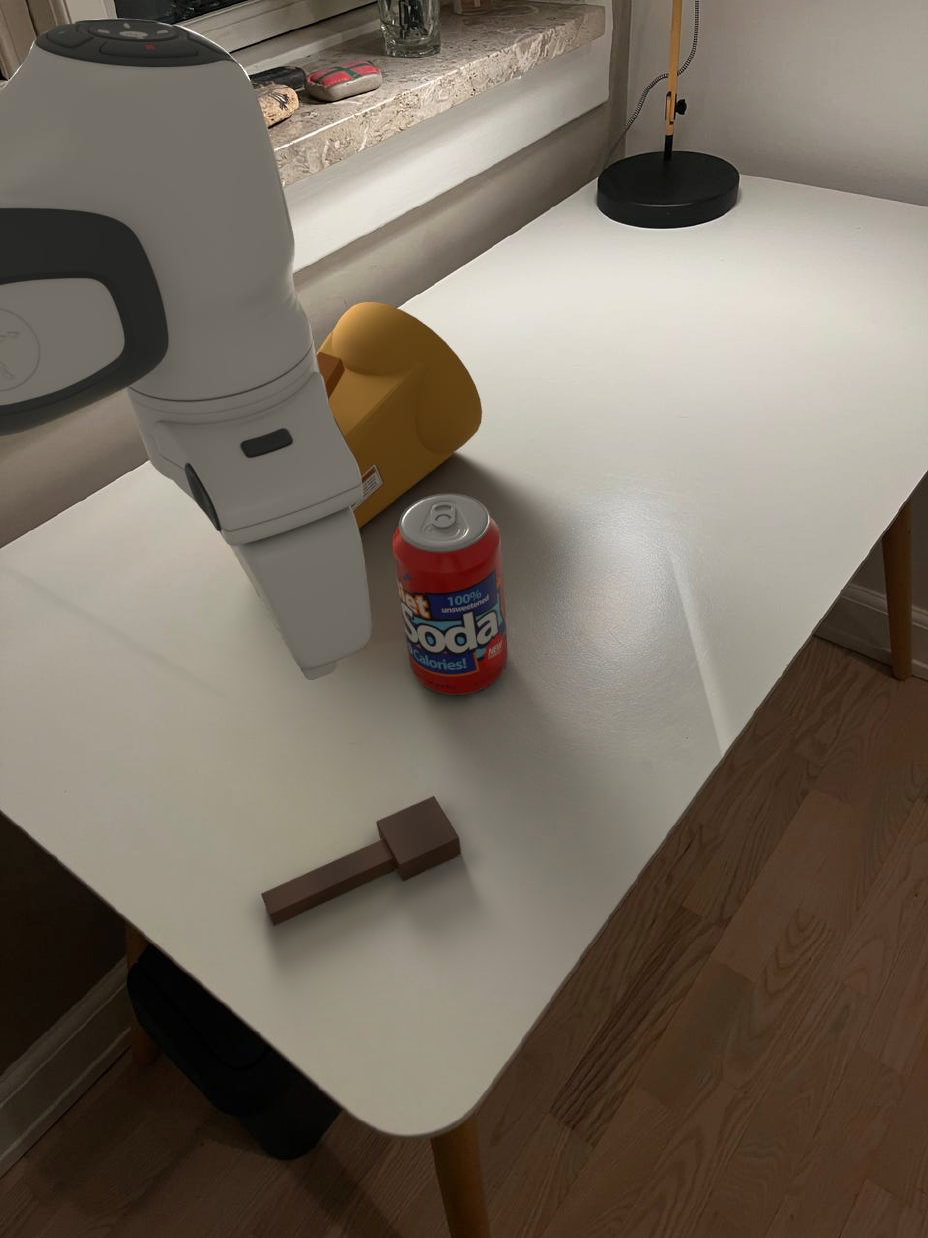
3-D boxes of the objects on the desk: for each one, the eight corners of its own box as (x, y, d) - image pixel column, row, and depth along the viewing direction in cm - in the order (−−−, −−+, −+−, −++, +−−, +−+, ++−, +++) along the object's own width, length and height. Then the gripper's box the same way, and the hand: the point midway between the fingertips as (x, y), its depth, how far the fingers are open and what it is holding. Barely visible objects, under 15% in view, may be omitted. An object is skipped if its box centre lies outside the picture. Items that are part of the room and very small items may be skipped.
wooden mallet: (279, 939, 66) (273, 923, 65) (259, 892, 69) (253, 875, 68) (461, 854, 70) (459, 837, 69) (436, 812, 73) (433, 795, 71)
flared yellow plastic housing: (369, 413, 111) (317, 278, 97) (497, 460, 103) (460, 320, 89) (251, 545, 104) (175, 418, 90) (379, 606, 96) (318, 478, 82)
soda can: (505, 629, 86) (497, 482, 76) (510, 699, 80) (502, 550, 70) (412, 635, 86) (390, 490, 76) (410, 705, 80) (387, 558, 70)
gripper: (114, 335, 55) (182, 537, 64) (233, 541, 41) (297, 759, 51) (227, 303, 57) (277, 504, 66) (377, 489, 43) (413, 709, 52)
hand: (287, 616), depth 58 cm, fingers open, 8 cm apart
